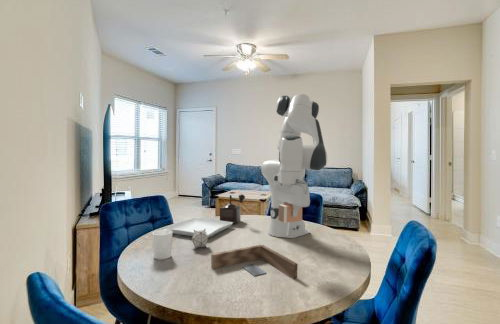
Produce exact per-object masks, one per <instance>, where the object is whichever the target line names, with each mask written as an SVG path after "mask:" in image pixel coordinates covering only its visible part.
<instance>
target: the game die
mask: <svg viewBox="0 0 500 324" xmlns="http://www.w3.org/2000/svg"><path fill="white" fill-rule="evenodd" d="M205 230H206V229H204V230H201V231H195V230H194V231H195V232H194V234H193V236H191V238H190V239H189V240H190V241H191V242H192V243H193V245H194V248H193V249H194V250H195V249H197V248H205V249H207V243H208V241H209V239H210V238H211V236H210V237H208V235H207V234H206V232H205Z"/></svg>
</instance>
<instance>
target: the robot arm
mask: <svg viewBox="0 0 500 324" xmlns="http://www.w3.org/2000/svg"><path fill="white" fill-rule="evenodd" d="M275 110H276V113H277V115H279V116H281V117H285V118H284V120H283V121H282V125H281V127H280V131H279V134H278V135H279V136H278V139H277V140H278V141H277V144H276V147H277V149H278V159H268V160H265V161H264V162H263V163H262V165H261V168H260V171H261V174H262V176H263V177H264V178H265V179H266V181H267V183H268V185H269V190H270V194H271V197H270V198H271V205H270V210H269V211H270V212H269V213H270V222H269V227H268V231H267V234H268V235H269V236H273V237H277V238H287V239H294V238H295V239H296V238H298V237H302V236H305V235H308V234H310V233H311V232H310V230H309V229H308V228H306V223H305V221H304V220H303V219H302V221H297V222H287V223H283V222H281V221H279V220H278V215H279V205H280V204H293V207H294V208H293V211H291V215H292V216H294V217H296V216H297V213H298V210H299V208H300V207H302V208H308V207H310V203H311V199H310V198H311V197H310V188H309V185H308V183H307V182H306V181H305V180H304V177H305V175H306V170H312V171H320V170H322V169H324V167H326V166H327V163H328V154H327V153H328V152H327V150H326V147H325V143H324V138H323V134H322V129H321V126H320V122H319V119H317V118H318V116H319V113H320V107H319V103H317V102H315V101H313V100H311V98H310V96H308V95H307V94H305V93H297V94H295V95H294V96H288V95H281V96H280V97H278V99H277V101H276V105H275ZM301 133H302V134H307V135H308V136H310V137H311V138H312V143H313V144H311V145H310V144H309V145H308V144H306V145H305V144H304V145H303V139H302V138H303V137H301V135H302V134H301Z"/></svg>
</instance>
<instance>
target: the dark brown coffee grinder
mask: <svg viewBox="0 0 500 324" xmlns="http://www.w3.org/2000/svg"><path fill="white" fill-rule="evenodd" d="M245 198H246V196H245V194H239V195H238V199H236V198H232V194H230V195H229V203H228V204H225V205H223V206H221V207H219V220H220V221H227V222H233V223H232V225H237V224H239V223H240V222H241V205H236V204H233V203H232V201H234V202H239V203H240V204H241V203H244V200H245Z"/></svg>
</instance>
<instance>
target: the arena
mask: <svg viewBox="0 0 500 324" xmlns="http://www.w3.org/2000/svg"><path fill="white" fill-rule="evenodd" d="M210 256H211V257H210V258H211V259H210V260H211V261H210V264H211V265H210V266H211V269H217V268H219V269H220V268H222V267H229V266H232V265H237V264H242V263H246V262H251V261H255V260H263V261H265V262H266V263H267V264H269V265H270V266H272V267H274V269H275V268H276V269H277V270H278V271H280V272H282V273H283V274H285V275H287V276H288V277H289V278H291V279H292V280H295V279H298V263H297V262H296V261H293V260H292V259H290V258H288V257H286V256H284V255H282V254H281V253H279V252H277V251H276V250H274V249H271V248H270V247H268V246H266V245H265V244H257V245H252V246H246V247H242V248H236V249H231V250H225V251H219V252H215V253H213V252H212V253H210ZM241 268H243V269H244V270H245V271H246V272H247V273H249V274H250V275H251V276H253V277H258V276H261V275H262V276H263V275H266V274H267V272H266V271H264V269H261V268H260V267H259V266H258V265H256V264H255V263H249V264H245V265H242V266H241Z"/></svg>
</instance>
